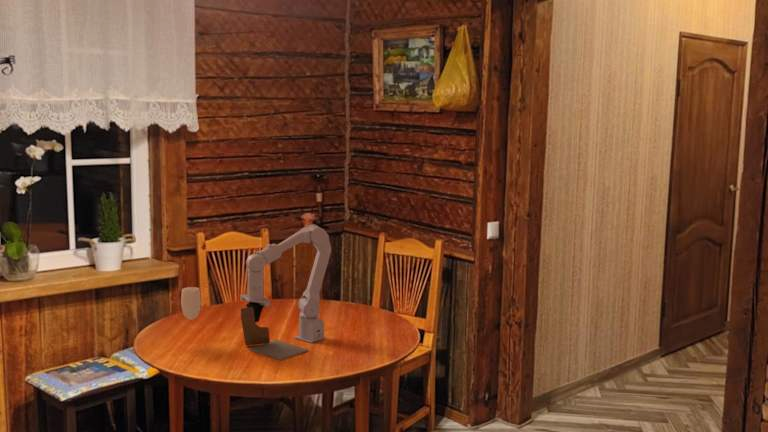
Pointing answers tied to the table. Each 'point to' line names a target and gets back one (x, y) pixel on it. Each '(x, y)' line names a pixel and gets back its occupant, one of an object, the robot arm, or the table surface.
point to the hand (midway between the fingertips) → (255, 321)
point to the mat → (278, 350)
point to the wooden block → (253, 328)
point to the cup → (191, 302)
